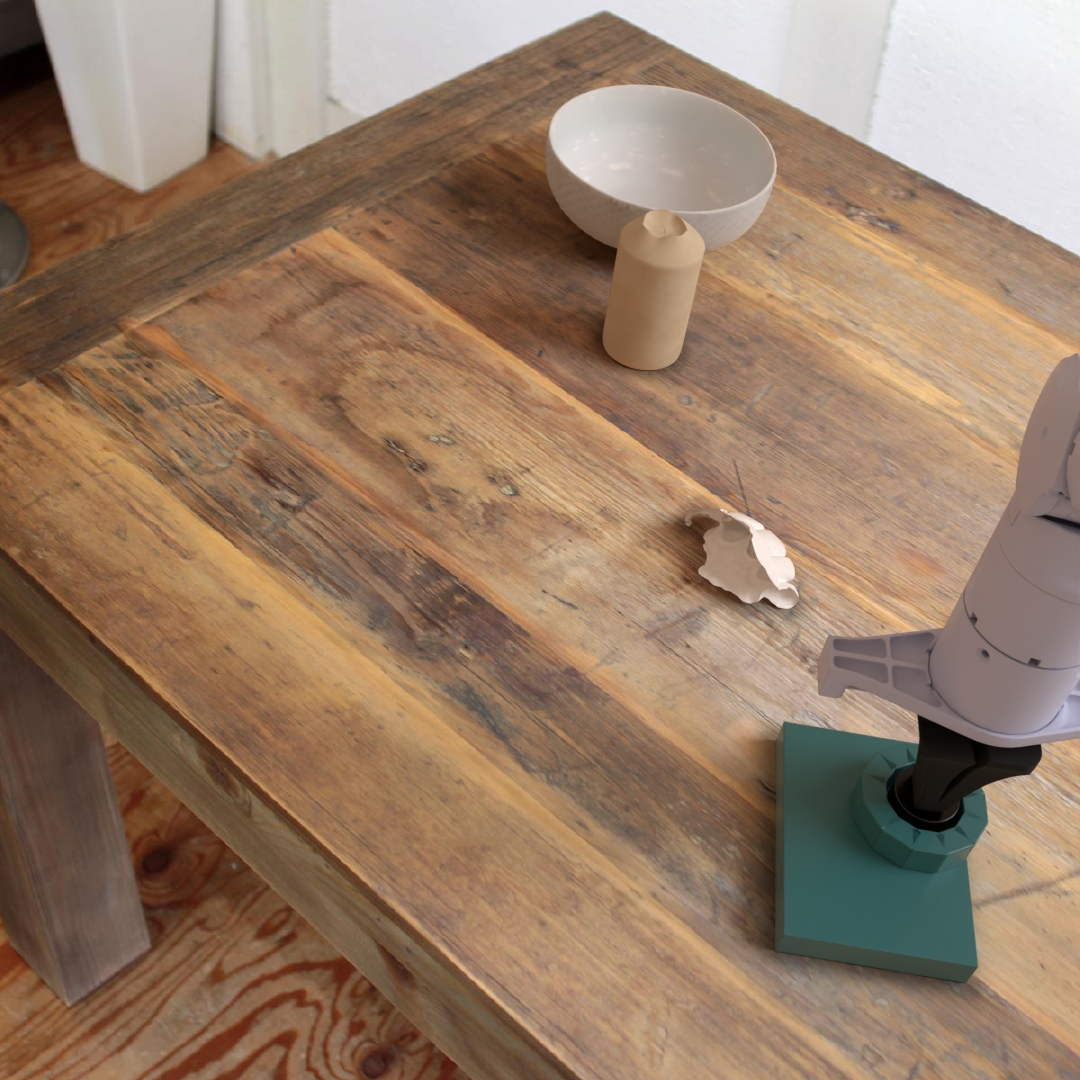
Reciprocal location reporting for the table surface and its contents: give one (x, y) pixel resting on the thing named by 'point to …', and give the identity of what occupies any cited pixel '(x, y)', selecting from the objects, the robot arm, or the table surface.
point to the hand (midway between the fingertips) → (927, 793)
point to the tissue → (746, 559)
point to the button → (905, 809)
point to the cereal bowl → (657, 162)
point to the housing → (868, 860)
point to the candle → (652, 290)
